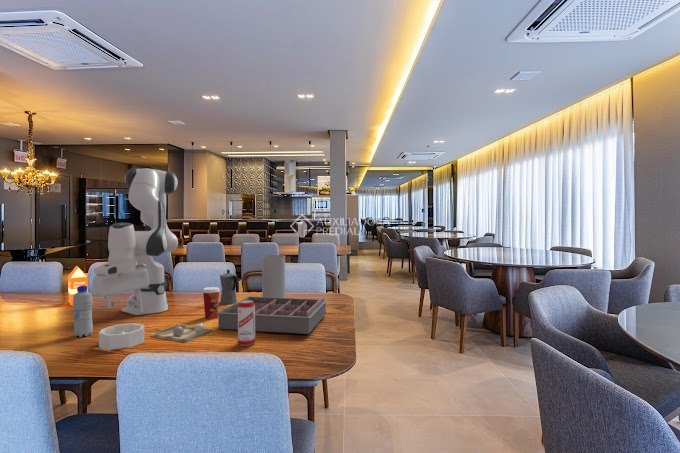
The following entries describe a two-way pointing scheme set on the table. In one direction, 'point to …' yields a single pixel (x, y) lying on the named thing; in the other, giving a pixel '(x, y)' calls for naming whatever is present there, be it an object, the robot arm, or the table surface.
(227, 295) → the coffeepot
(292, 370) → the table surface
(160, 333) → the oak tray
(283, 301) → the organizer tray
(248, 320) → the beer can
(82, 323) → the bottle
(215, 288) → the paper cup
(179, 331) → the grey ball
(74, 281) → the orange juice
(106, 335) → the ceramic bowl
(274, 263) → the cylinder vase
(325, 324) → the table surface
